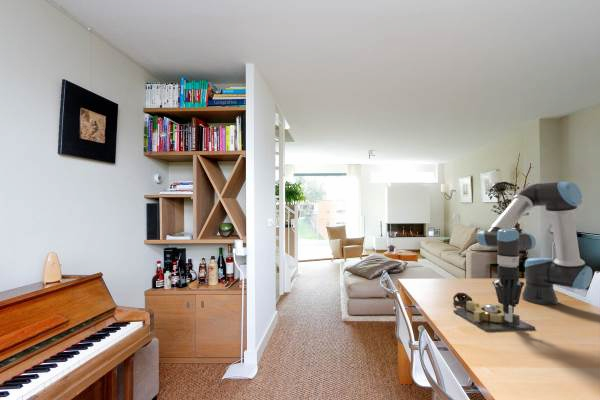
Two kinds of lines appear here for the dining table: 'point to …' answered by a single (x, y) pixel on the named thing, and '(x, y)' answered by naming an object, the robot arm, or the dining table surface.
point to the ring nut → (490, 314)
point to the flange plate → (492, 325)
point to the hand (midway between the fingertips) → (508, 320)
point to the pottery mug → (461, 299)
